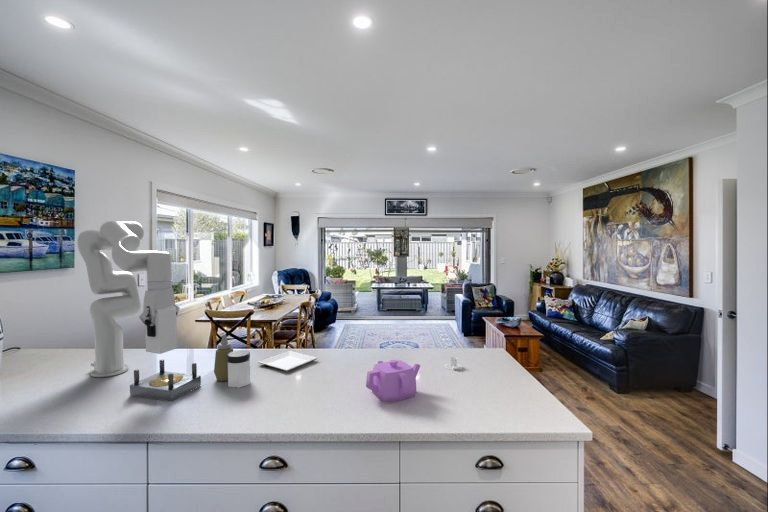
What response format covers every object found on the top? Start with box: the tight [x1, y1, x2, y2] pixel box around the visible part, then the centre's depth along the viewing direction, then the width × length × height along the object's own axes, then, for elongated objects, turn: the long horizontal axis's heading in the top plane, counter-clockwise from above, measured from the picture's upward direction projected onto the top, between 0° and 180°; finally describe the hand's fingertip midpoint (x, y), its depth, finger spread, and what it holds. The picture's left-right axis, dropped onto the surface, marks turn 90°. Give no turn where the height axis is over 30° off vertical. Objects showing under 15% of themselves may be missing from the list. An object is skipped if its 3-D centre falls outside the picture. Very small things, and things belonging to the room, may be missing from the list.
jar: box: [227, 349, 251, 389], centre depth 143 cm, size 9×8×12 cm
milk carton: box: [144, 305, 178, 355], centre depth 134 cm, size 7×7×19 cm
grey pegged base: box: [129, 359, 202, 403], centre depth 136 cm, size 18×14×9 cm
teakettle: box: [365, 359, 421, 404], centre depth 135 cm, size 17×17×12 cm
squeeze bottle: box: [213, 334, 234, 382], centre depth 148 cm, size 8×8×18 cm
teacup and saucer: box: [444, 356, 463, 371], centre depth 162 cm, size 9×8×4 cm
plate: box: [257, 350, 318, 372], centre depth 166 cm, size 19×19×2 cm
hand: (161, 333), depth 135 cm, fingers closed on milk carton, 7 cm apart
